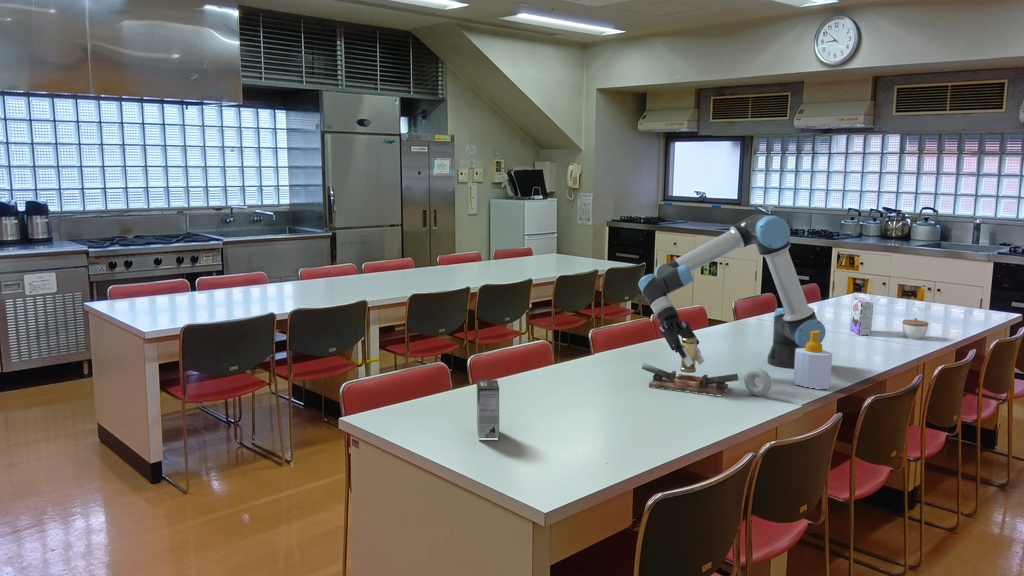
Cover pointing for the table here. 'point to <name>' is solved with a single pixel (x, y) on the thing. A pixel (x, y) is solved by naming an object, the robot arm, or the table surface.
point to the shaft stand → (689, 381)
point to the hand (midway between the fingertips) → (696, 363)
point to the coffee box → (488, 408)
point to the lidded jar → (915, 328)
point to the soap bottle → (813, 364)
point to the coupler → (690, 347)
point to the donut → (764, 379)
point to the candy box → (861, 316)
